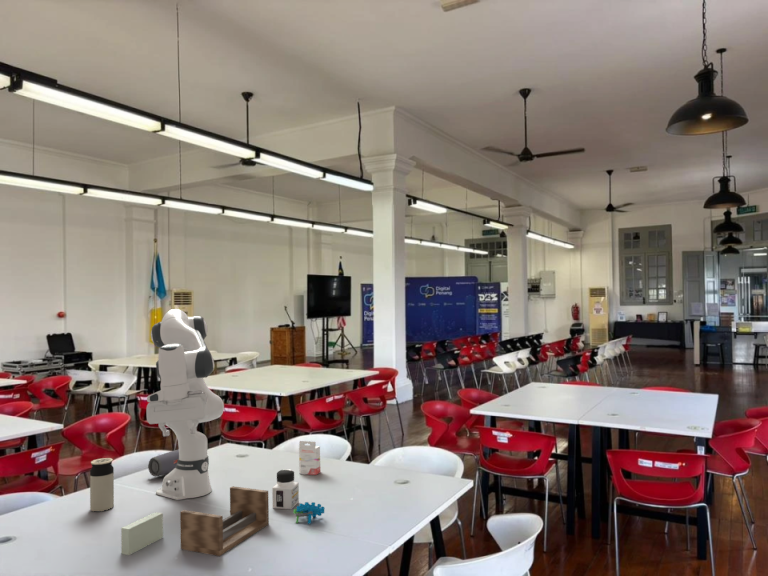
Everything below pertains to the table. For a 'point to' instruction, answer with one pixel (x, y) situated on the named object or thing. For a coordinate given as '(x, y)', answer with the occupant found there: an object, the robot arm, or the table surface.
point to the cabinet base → (225, 523)
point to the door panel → (141, 533)
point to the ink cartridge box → (309, 458)
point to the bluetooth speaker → (163, 463)
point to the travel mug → (101, 485)
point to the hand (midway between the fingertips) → (180, 434)
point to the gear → (308, 511)
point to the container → (285, 490)
